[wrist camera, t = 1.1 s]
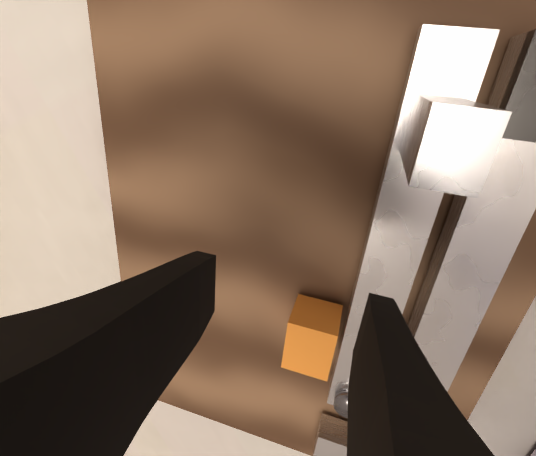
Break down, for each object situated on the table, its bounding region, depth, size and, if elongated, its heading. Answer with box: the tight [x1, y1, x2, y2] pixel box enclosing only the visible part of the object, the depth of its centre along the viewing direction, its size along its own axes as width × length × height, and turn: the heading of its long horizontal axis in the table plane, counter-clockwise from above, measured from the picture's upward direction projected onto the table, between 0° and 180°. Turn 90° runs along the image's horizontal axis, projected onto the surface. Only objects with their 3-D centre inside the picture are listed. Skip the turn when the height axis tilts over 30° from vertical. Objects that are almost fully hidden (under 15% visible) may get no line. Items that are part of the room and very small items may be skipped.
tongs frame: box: [313, 29, 536, 456], centre depth 16 cm, size 24×5×2 cm, turn 174°
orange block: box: [281, 294, 343, 381], centre depth 17 cm, size 3×2×2 cm
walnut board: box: [87, 0, 536, 456], centre depth 19 cm, size 28×22×1 cm
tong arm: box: [327, 24, 512, 418], centre depth 13 cm, size 18×2×6 cm, turn 175°
